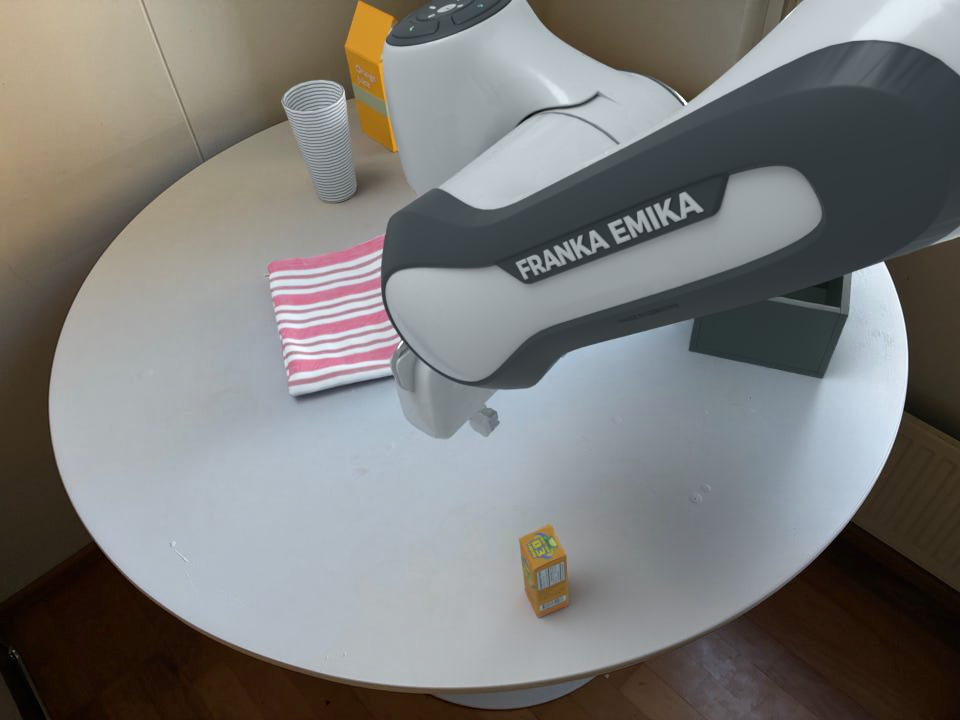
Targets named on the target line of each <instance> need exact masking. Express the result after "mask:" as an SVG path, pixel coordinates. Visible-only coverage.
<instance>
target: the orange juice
mask: <svg viewBox="0 0 960 720" xmlns="http://www.w3.org/2000/svg"><path fill="white" fill-rule="evenodd" d="M399 22H400V21H398V20H397V19H396V18H395V16H394V15H391V14H389V13H387V12H385V11H383V10H381V9H379V8H376V7H374V6H373V5H371V4H368V3H366V2H364V1H362V0H358V2H357V5H356V8H355V11H354V15H353V18H352V21H351V25H350V28H349V30H348V35H347V37H346V40H345V43H344V46H343V47H344V50H345V56H346V60H347V61H346V62H347V65H348V70H349V74H350V75H349V76H350V80H351V86H352V91H353V95H354V99H355V104H356V109H357V113H358V119H359V124H360V128H361V132H362V133H363V134H364V135H366V136H367V137H369V138H371V139H372V140H374V141H375V142H376V143H379V144H380V145H381V146H383V147H385V148H386V149H387V150H389V151H391V152H393V153H396V152H398V150H397V147H396V143H395V139H394V135H393V131H392V126H391V122H390V117H389V112H388V107H387V101H386V95H385V88H384V80H383V61H382V56H383V46H384V42H385V40H386V37H387V36H388V35H389V33H390V32H391V31H392V30H393V27H394V26H395V25H396V24H398V23H399Z"/></svg>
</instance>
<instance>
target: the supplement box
mask: <svg viewBox="0 0 960 720" xmlns="http://www.w3.org/2000/svg"><path fill="white" fill-rule="evenodd" d="M518 542H519V550H520V559H521V567H522V576H523V585H524V592H525V594H526V596H527V598H528V601H529V603H530V606H531V608H532V609H533V612H534V614H535V616H536V617H537V618H538V619H539V618H542V617H545V616H546V615H549V614H551V613H554V612H556V611H558V610H561V609H563V608H566V607H568V606H569V605H570V601H569V600H570V598H569V595H570V594H569V575H568V574H569V573H568V559H567V558H568V557H567V552H566V551H565V549H564V547H563V546H562V544H561V541H560V540H559V538H558V535H557V534H556V531H555V529H554V527H553V525H552V523H548V524H546V525H543V526H542V527H540V528H538V529H535V530H534V531H532V532H530V533H527V534H525V535H524V536H521V537H518Z"/></svg>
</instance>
